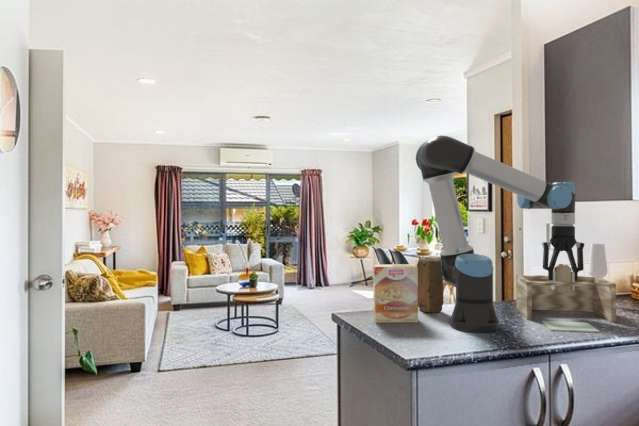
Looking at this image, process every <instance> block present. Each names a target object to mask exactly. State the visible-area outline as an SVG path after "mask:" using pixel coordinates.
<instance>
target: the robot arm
mask: <svg viewBox="0 0 639 426" xmlns="http://www.w3.org/2000/svg"><path fill="white" fill-rule="evenodd" d="M415 162H416V165H417V167H418V169H419V170H420V171H421V172H420V173H421V176H422V180H423V182H425V183H426V184H428V186H429V192H430V195H431V196H430V197H431V201H432V205H433V209H434V214H435V218H436V222H437V227H438V230H439V236H440V240H441V244H442V250H441V251H440V253H439V254H440V255H439V256H440V260H441V263H442V264H441V273H442V276H443V280H444V281H446V282H447V284H449V285H450V286H452V287H454V288H455V304H454V308H453V311H452V313H451V317H450V326H451V327H452V328H453V329H456V330H459V331H464V332H471V333H490V332H496V331H497V330H498V331H499V329H500V321H499V317H498V316H497V312H496V310H495V307H494V266H493V260H492V259H491V258H490V257H489V256H487V255H483V254H478V253H475V251H474V247H473V246H472V245H469V244H468V241H467V236H466V232H465V231H466V230H465V227H464V223H463V218H462V214H461V208H460V204H459V200H458V197H457V191H456V186H455V183H454V177H455V175H456V174H460V175H463V174H468V175H470V176H473V177H475V178H477V179H480V180H482V181H484V182H487V183H489V184H490V185H494V186H497V187H499V188H501V189H503V190H506V191H508V192H510V193H513V194H515V195H516V203H517V205H518V207H519V208H520V209H526V210H532V209H533V210H537V209H538V210H541V209H543V210H544V209H545V210H547V209H548V210H550V211H551V219H550V221H551V223H550V224H551V225H552V226H551V229H550V230H551V231H550V232H551V236H550V239H549V240H548V241H542V243H541V244H542V247H543V252H542V253H543V254H542V255H543V257H542V269H544V270H545V271H547V272H548V273H547V275H548V279H549V280H551V282H556V272H554V268H555V267H556V263H557V261H558V257H559V254H560V252H565V253H566V254H567V258H568V261H569V265H570V268H571V282H575V281H577V279H578V276H579V275H578V273H580V272H581V271H584V270H585V269H584V247H585V243H584V242H581V241H577V239H576V227H575V226H574V225H575V224H576V185H575V183H574V182H572V181H560V182H559V181H557V182H556V181H555V182H552V183H550V182H548V181H545V180H543V179H541V178H538V177H536V176H534V175H531V174H530V173H526V172H524V171H521V170H519V169H517V168H515V167H512V166H510V165H507V164H505V163H503V162H501V161H499V160H496V159H494V158H492V157H489V156H487V155H485V154H482V153H480V152H478V151H476V149H475V147H474V146H472V145H469V144H467V143H464V142H463V141H460V140H458V139H456V138H453V137H452V136H447V135H437V136H434V137H432V138H431V139H429V140H426V141H424V142H423V143H422V144H421V145H420V146H419V148H418V149H417V150H416V154H415ZM551 245H552V246H551ZM550 247H553V251H552V255H551V258H550V256H549V255H550ZM574 247H575V248H576V258H577V260H576V259H575V255H574V251H573V248H574ZM549 258H550V262H549ZM551 289H552V290H556V286H551ZM571 290H572V291H574V290H575V286H571Z"/></svg>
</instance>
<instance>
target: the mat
mask: <svg viewBox="0 0 639 426" xmlns="http://www.w3.org/2000/svg"><path fill="white" fill-rule="evenodd" d="M541 322H542V324H543V325H544V326H545V327H546V328H547V329H548V330H549V331H552V332H572V333H573V332H576V333H577V332H578V333H579V332H580V333H598V334H599V333H600V330H599V329H597V328H596V327H595V326H593V325H591V324H590V323H589V322H587V321H586V322H584V321H558V320H557V321H555V320H541Z"/></svg>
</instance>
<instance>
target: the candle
mask: <svg viewBox="0 0 639 426" xmlns="http://www.w3.org/2000/svg"><path fill="white" fill-rule="evenodd" d="M553 271H554V272H556V282H571V272H572V268H571V266H569V265H568V264H563V263H559V264H558V265H555V267H554V270H553ZM554 292H557V293H571V286H556V290H554Z"/></svg>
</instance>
